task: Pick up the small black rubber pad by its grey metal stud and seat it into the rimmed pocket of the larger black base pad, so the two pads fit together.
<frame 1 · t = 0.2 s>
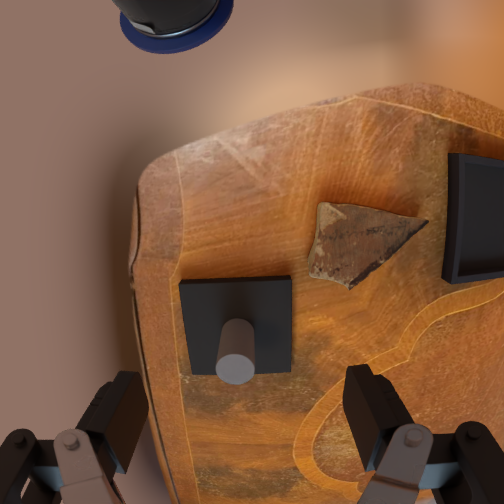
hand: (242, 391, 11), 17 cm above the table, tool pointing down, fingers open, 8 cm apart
shard: (356, 226, 27), on the table
base pad: (488, 217, 27), on the table
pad: (238, 326, 29), on the table
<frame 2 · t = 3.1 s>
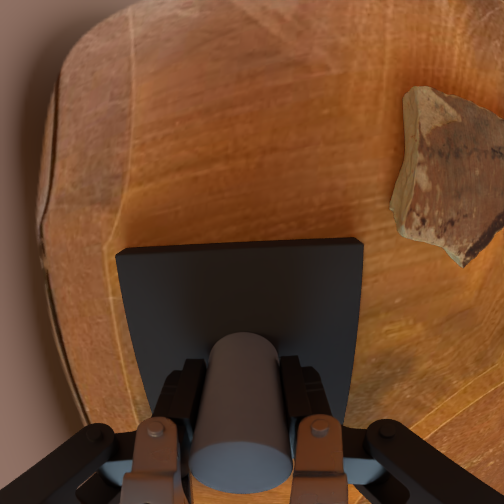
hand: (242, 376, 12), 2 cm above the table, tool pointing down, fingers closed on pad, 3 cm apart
shard: (463, 149, 12), on the table
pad: (244, 346, 14), on the table, touching gripper
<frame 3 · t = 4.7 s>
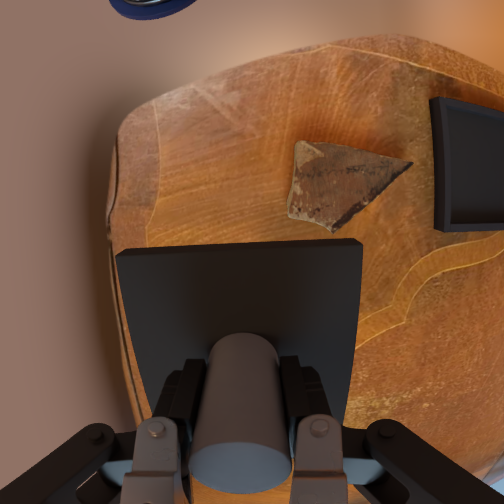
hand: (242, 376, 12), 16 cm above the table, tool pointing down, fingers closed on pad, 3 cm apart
shard: (336, 168, 26), on the table
base pad: (478, 167, 25), on the table
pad: (244, 347, 14), point 14 cm above the table, touching gripper
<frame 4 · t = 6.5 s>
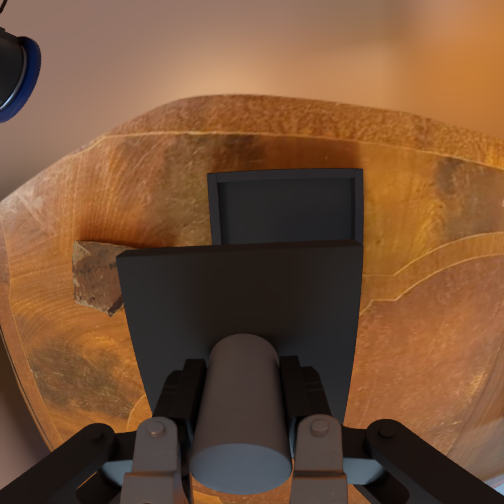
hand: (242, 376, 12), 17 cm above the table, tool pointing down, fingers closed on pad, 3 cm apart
shard: (113, 259, 28), on the table
base pad: (287, 242, 28), on the table
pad: (244, 348, 14), point 15 cm above the table, touching gripper
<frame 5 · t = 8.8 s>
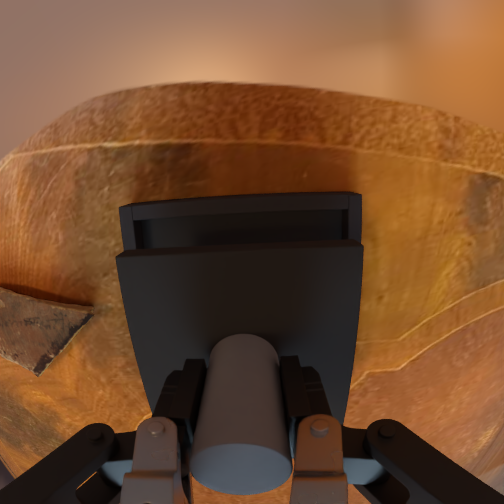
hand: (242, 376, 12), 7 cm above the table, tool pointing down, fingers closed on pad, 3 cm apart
shard: (33, 310, 20), on the table
base pad: (245, 301, 19), on the table
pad: (244, 348, 14), point 5 cm above the table, touching gripper
when the fingers open (3 cm above the table, at t = 10.2 s): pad stays where it is, resting on base pad.
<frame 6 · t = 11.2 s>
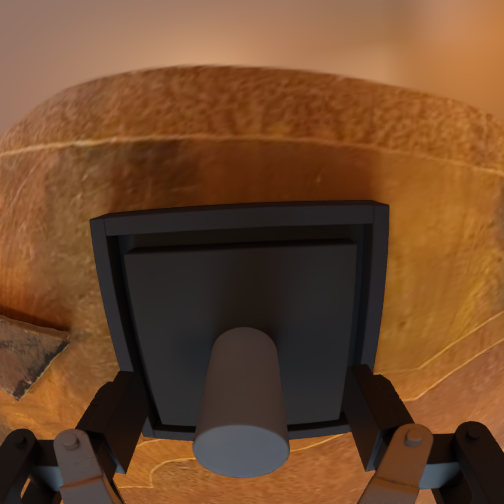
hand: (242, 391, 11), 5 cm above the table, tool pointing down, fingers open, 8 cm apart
shard: (9, 330, 16), on the table
base pad: (244, 331, 16), on the table
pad: (244, 341, 15), point 1 cm above the table, touching base pad
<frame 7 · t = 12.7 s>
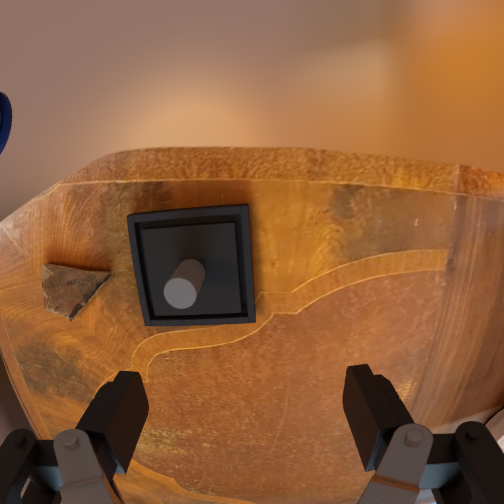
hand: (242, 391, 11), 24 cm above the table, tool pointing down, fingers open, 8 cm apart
shard: (71, 277, 35), on the table
base pad: (194, 265, 35), on the table
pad: (193, 269, 34), point 1 cm above the table, touching base pad
bowl: (494, 426, 46), on the table
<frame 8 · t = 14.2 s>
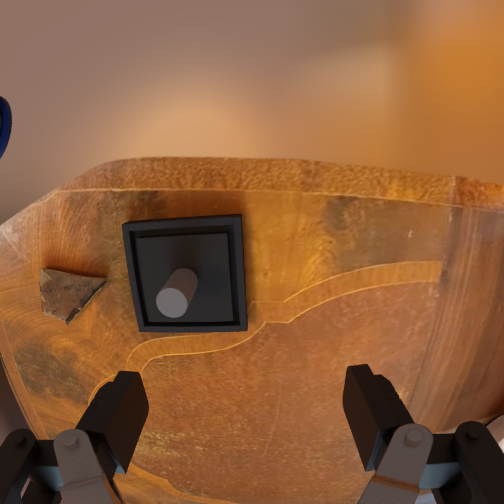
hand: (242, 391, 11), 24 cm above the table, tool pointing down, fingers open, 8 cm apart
shard: (68, 282, 36), on the table
base pad: (187, 274, 35), on the table
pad: (186, 277, 34), point 1 cm above the table, touching base pad
bowl: (488, 435, 46), on the table
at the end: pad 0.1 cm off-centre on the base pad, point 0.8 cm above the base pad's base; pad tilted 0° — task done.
